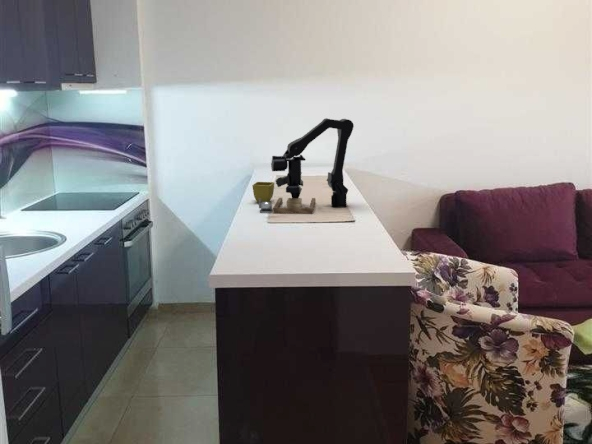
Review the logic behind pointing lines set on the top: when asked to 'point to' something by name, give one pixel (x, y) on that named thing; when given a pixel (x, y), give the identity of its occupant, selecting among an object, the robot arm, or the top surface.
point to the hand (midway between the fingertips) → (294, 204)
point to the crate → (294, 202)
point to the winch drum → (265, 206)
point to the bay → (293, 210)
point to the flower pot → (263, 191)
